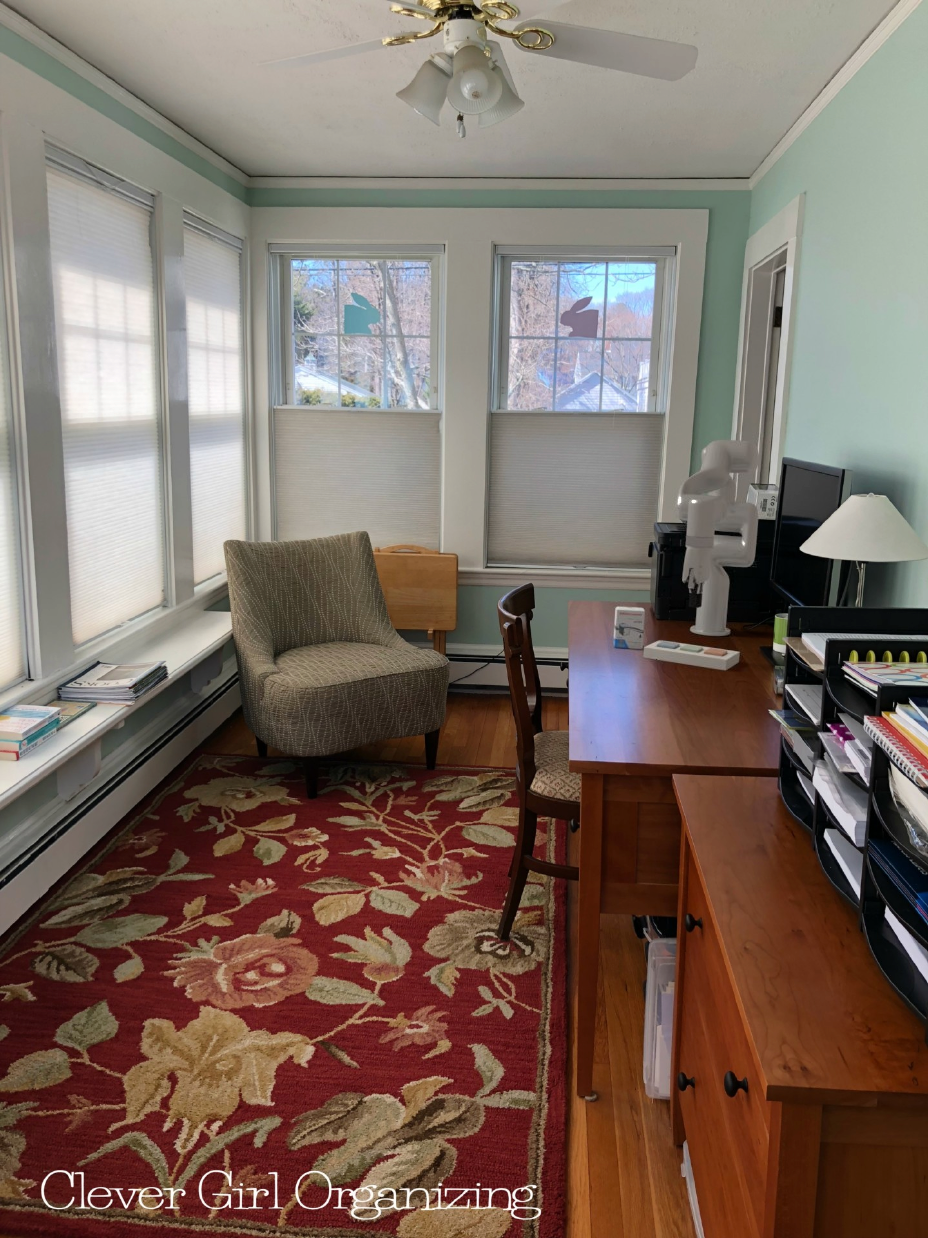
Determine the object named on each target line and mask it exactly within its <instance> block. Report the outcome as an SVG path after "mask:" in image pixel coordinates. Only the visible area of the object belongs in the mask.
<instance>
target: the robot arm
mask: <svg viewBox="0 0 928 1238" xmlns="http://www.w3.org/2000/svg"><path fill="white" fill-rule="evenodd" d="M759 455H760V454H759V451H758V448H757V446H756V445H755V444H754V443H753V442H752V441H749V440H740V439H739V440H736V439H717V440H713V441H711V442H710V443H708V444H707V446H704V448H702V449H701V456H700V458H701V466H700V470H699V471H697V472H695V473H694V474H692V475H690V477H688V478H686V479H685V480H684V481H683V482H682V484H681V485H680V487H679V490H678V493H677V496H676V499H675V505H674V512H675V516H676V518H678V519H679V520H681V521H685V522H686V521H687V523H686V535H685V539H686V540H685V547H686V550H685V556H684V562H683V570H682V578H681V579H682V582H683V583H684V584H686V583H688V585H687V587H688V591H689V593H688V594H689V597H688V607H690V608H695V609H696V617H695V625H692V626H691V627H690V629H689V631H690V632H691V633H694V634H697V635H702V636H708V637H709V636H710V637H721V636H722V637H724V636H728V635H731V629H729V628H728V627H726V625H727V614H728V605H729V604H728V602H729V592H730V591H729V590H730V578H729V577H730V576H729V575H728V573H727V572H726V571H725V569H724V568H723V567H736V568H739V567H740V568H748V567H751V566H752V565H753V564H754V561H755V557H756V549H757V548H756V547H757V539H758V537H757V536H758V527H759V526H758V525H759V524H758V523H759V512H758V508H757V505H756V504H753V503H751V502H746V501H745V502H743V501H736V494H737V484H736V483H735V481H734V479H733V477H732V476H731V475H730V474H747V475H748V474H753V473H755V472H756V470H757V469H758V466H759V463H760V462H759V461H760V456H759ZM706 494H707V495H706ZM715 531H716V532H717V531H719V532H729V533H731V532H732V533H739V534H740V535H741V536H735V535H733V536H731V535H722V534H721V535H720V534H715Z"/></svg>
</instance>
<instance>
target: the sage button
mask: <svg viewBox="0 0 928 1238" xmlns="http://www.w3.org/2000/svg"><path fill="white" fill-rule="evenodd" d="M692 645H693V644H689V645H685V646H683V647H681V648H680V650H682V651H689V652H695V653H699V652H701V651H702V650H703V647H704V646H703V647H699V646H700V645H696V646H692Z"/></svg>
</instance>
